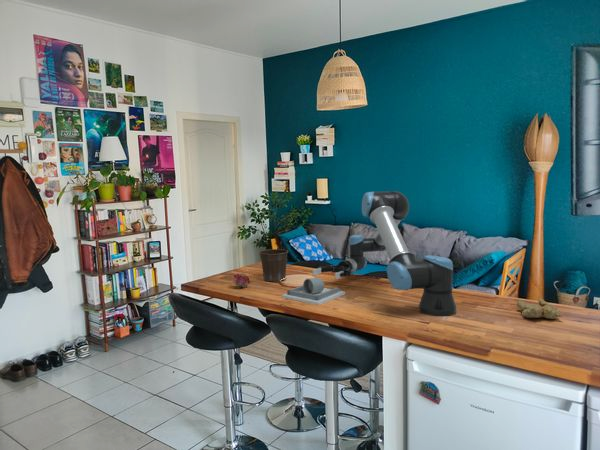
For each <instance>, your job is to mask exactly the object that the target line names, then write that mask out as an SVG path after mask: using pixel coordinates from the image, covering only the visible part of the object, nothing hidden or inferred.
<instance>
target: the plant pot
mask: <svg viewBox="0 0 600 450" xmlns="http://www.w3.org/2000/svg"><path fill="white" fill-rule="evenodd" d="M258 253H259V257H260V260H261V267H262V275H263V281H265V282H266V283H267V282H269V283H270V282H273V283H278V282H279V281H280V280H281V279H283V278H285V277H286V275H287V271H286V270H287V261H288V259H287V258H288V253H289V250H287V249H282V248H281V249H279V248H276V249H275V248H274V249H273V248H271V249H270V248H269V249H263V250H260V251H259V252H258ZM280 282H281V281H280Z"/></svg>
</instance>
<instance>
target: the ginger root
mask: <svg viewBox="0 0 600 450" xmlns="http://www.w3.org/2000/svg"><path fill="white" fill-rule="evenodd" d="M537 300H538V304H536V303H528V302H527V301H524V300H517V301H516V307H517V308H519V310H521V311H522V312H521V315H522V316H523V317H525V318H527V319H532V318H533V319H534V318H538V319H539V318H542V317H543V318H544V317H545V318H546V319H548V320H549V319H550V320H555V319H556V318H563V316H564V315H563V314H562V313H560V312H559V309H558V306H555V305H553V304H550V303H549V302H547V301H545V300H544V299H543V298H541V297H538V298H537Z"/></svg>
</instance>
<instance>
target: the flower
mask: <svg viewBox="0 0 600 450" xmlns="http://www.w3.org/2000/svg"><path fill="white" fill-rule="evenodd" d="M233 276H234V281H232V282H233V283H234V284H235V286H238V290H240V289H241V288H248V287H247V286H248V285H250V282H251V281H250V277H249V276H248V275H246V274H245V273H236V274H233Z"/></svg>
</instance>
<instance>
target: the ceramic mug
mask: <svg viewBox="0 0 600 450" xmlns="http://www.w3.org/2000/svg"><path fill="white" fill-rule="evenodd" d="M302 285H303V290H304V291H305V292H306V293H308V294H314V293H318V292H321V291H323V289H324V288H325V281H324V279H323V278H321V277H310V278H305V280H303V284H302Z"/></svg>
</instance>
